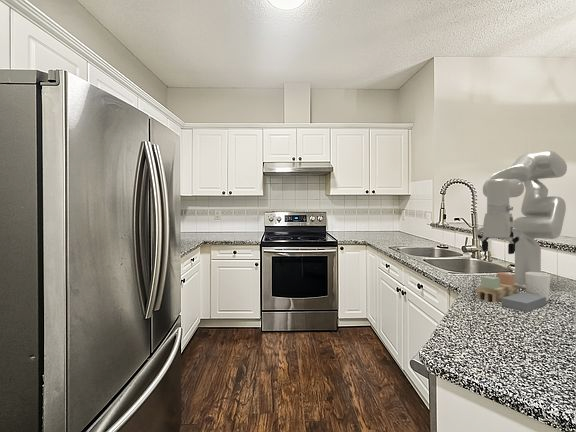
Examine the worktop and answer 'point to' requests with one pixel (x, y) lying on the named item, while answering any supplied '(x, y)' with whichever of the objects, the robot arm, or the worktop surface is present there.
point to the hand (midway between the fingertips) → (497, 252)
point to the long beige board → (497, 292)
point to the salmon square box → (506, 278)
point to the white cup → (538, 284)
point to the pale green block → (490, 282)
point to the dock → (524, 301)
